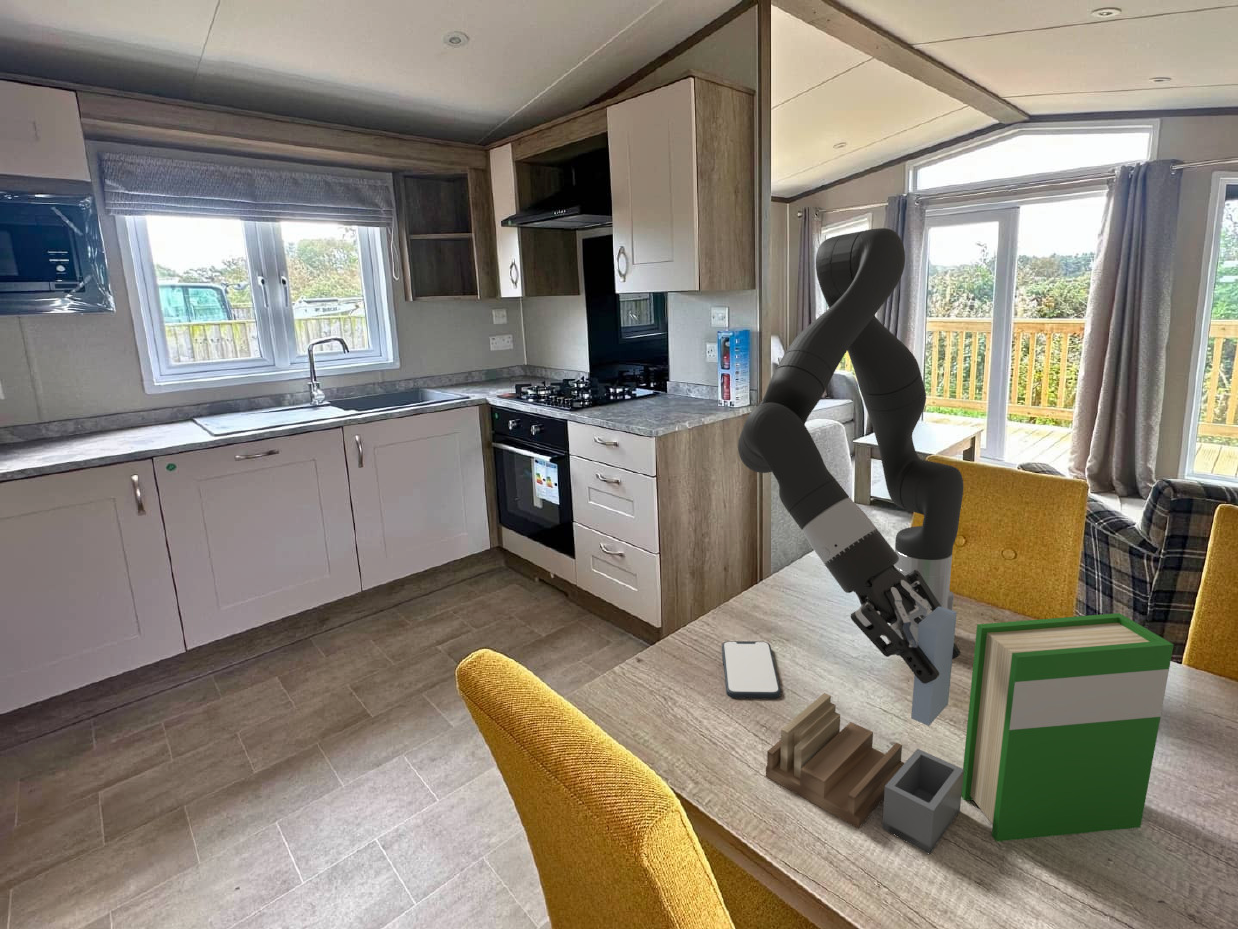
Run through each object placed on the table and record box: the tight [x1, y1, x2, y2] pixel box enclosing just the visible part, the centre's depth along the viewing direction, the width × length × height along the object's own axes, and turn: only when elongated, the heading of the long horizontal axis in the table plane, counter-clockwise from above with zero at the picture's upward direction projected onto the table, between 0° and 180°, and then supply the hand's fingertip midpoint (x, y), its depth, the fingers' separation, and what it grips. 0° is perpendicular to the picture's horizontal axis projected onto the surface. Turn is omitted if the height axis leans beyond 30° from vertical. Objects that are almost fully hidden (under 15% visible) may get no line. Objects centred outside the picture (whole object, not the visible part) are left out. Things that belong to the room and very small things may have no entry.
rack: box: [765, 721, 905, 829], centre depth 89 cm, size 13×13×4 cm
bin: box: [881, 748, 964, 855], centre depth 81 cm, size 6×9×6 cm, turn 134°
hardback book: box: [961, 612, 1174, 843], centre depth 79 cm, size 18×7×24 cm, turn 94°
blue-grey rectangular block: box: [910, 606, 958, 727], centre depth 76 cm, size 2×6×12 cm, turn 134°
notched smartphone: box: [721, 640, 782, 700], centre depth 114 cm, size 9×2×16 cm
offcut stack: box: [780, 692, 841, 778], centre depth 91 cm, size 3×11×6 cm, turn 134°
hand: (942, 668), depth 75 cm, fingers closed on blue-grey rectangular block, 5 cm apart
